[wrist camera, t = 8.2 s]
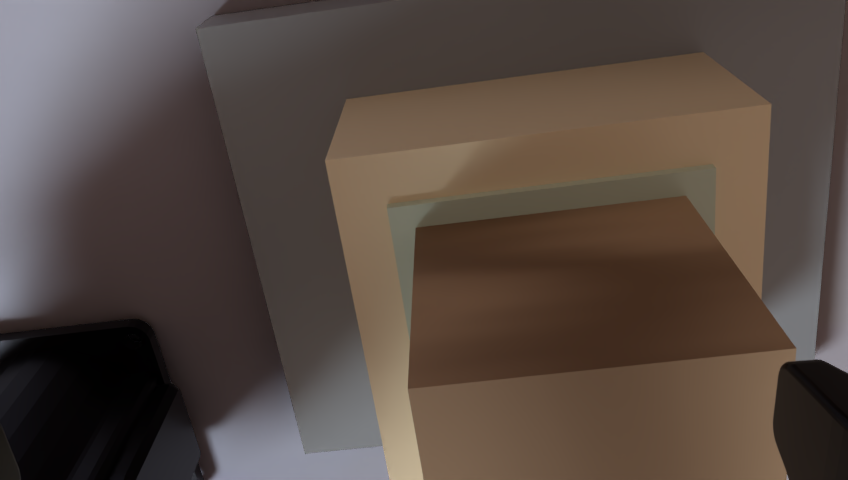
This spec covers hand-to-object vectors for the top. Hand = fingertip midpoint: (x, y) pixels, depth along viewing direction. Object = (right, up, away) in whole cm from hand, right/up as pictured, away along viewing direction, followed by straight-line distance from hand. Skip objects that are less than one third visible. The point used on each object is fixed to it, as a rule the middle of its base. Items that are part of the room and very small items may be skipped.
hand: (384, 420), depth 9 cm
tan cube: (+3, 0, +7) cm, 7 cm away
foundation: (+3, +3, +12) cm, 13 cm away
